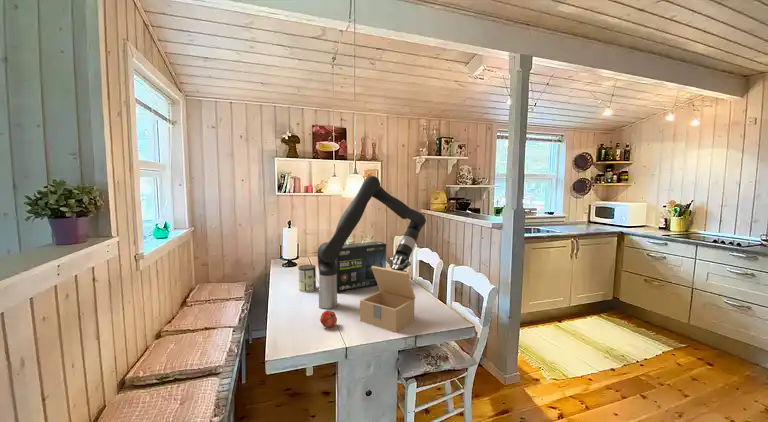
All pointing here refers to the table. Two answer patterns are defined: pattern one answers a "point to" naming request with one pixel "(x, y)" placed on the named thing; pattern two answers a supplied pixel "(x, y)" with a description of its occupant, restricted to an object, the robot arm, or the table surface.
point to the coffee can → (307, 278)
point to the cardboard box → (387, 311)
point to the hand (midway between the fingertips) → (392, 276)
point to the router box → (359, 265)
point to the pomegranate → (328, 319)
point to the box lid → (393, 282)
